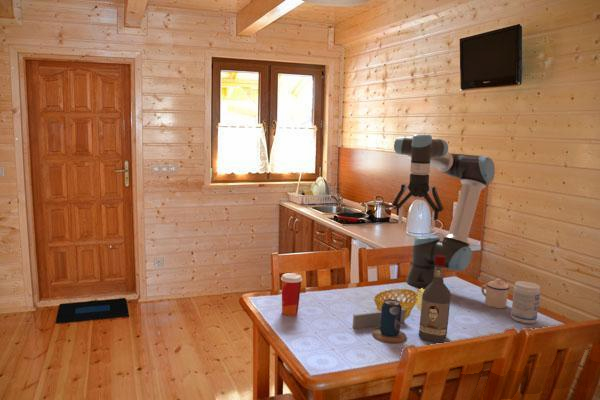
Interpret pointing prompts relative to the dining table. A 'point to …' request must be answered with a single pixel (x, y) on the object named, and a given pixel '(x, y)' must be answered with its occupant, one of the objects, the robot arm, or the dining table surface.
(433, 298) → the liquor
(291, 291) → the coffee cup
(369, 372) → the dining table surface
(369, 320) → the low wall
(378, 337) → the walnut coaster
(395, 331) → the soda can
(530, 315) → the supplement tub
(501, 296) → the teacup with lid
